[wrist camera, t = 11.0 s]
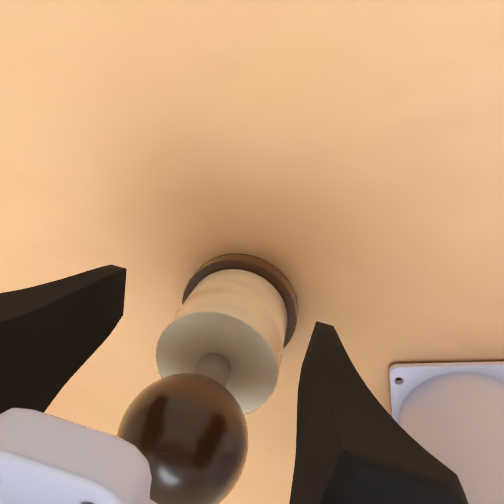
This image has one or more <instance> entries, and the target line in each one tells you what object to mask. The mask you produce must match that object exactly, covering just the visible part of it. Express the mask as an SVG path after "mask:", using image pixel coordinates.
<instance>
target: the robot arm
mask: <svg viewBox="0 0 504 504" xmlns="http://www.w3.org/2000/svg"><path fill="white" fill-rule="evenodd" d="M125 282H126V269H125V268H121V267H118V266H114V265H108V266H103V267H100V268H96V269H93V270H90V271H87V272H83V273H80V274H77V275H74V276H70V277H67V278H64V279H61V280H57V281H53V282H49V283H46V284H42V285H38V286H35V287H30V288H26V289H21V290H16V291H11V292H5V293H0V504H157V503H156V502H154V501H152V500H150V487H151V480H152V476H151V472H150V467H149V463H148V461H147V459H146V458H145V457H144V455H143V454H142V453H141V452H140V451H139V450H138V449H137V447H136V446H135V445H133V444H131V443H129V442H127V441H125V440H123V439H122V438H120V437H118V436H115V435H112V434H108V433H105V432H102V431H99V430H96V429H93V428H90V427H86V426H83V425H80V424H77V423H74V422H71V421H68V420H64V419H61V418H58V417H55V416H52V415H49V414H46V413H44V412H45V410H46V409H47V407H48V406H49V405H50V403H51V402H52V401H53V399H54V398H55V397H56V395H57V394H58V393H59V391H60V390H61V389H62V387H63V386H64V385H65V384H66V383H67V381H68V380H69V379H70V378H71V377H72V376H73V375H74V373H75V372H76V371H77V370H78V369H79V368H80V367H81V366H82V365H83V364H84V363H85V362H86V360H87V359H88V358H89V357H90V356H91V355H92V354H93V353H94V352H95V351H96V350H97V348H98V347H99V346H100V345H101V344H102V343H103V342H104V341H105V340H106V338H107V337H108V336H109V335H110V333H111V332H112V331H113V329H114V328H115V326H116V325H117V323H118V322H119V320H120V319H121V317H122V316H123V309H124V295H125ZM389 378H390V394H391V410H392V417H391V416H390V415H389V413H388V412H387V411H386V410H385V409H384V408H383V407H382V405H381V404H380V403H379V402H378V400H377V399H376V398H375V397H374V395H373V394H372V393H371V391H370V390H369V389H368V387H367V386H366V385H365V383H364V382H363V380H362V379H361V377H360V375H359V374H358V372H357V371H356V369H355V367H354V365H353V364H352V362H351V360H350V358H349V357H348V355H347V353H346V351H345V349H344V347H343V345H342V343H341V341H340V339H339V336H338V334H337V332H336V330H335V328H334V326H331V325H328V324H324V323H320V322H317V321H316V324H315V327H314V330H313V333H312V336H311V339H310V342H309V346H308V349H307V352H306V355H305V358H304V361H303V364H302V368H301V374H300V380H299V387H298V403H297V437H296V457H295V467H294V474H293V482H292V489H291V497H290V504H504V361H496V362H454V363H412V364H394V365H392V366H391V367H390V369H389ZM396 378H402V379H401V380H395V379H396Z"/></svg>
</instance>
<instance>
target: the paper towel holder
mask: <svg viewBox="0 0 504 504" xmlns="http://www.w3.org/2000/svg"><path fill="white" fill-rule="evenodd" d="M297 311H298V308H297V300H296V296H295V293H294V291H293V288H292V287H291V285H290V283H289V282H288V280H287V279H286V278H285V276H284V275H283V274H282V273H281V272H280V271H279V270H278V269H276V268H275V267H274V266H272V265H271V264H269V263H268V262H266V261H264V260H262V259H259V258H256V257H253V256H249V255H242V254H230V255H224V256H220V257H217V258H215V259H213V260H210V261H209V262H207V263H206V264H204V265H203V266H202V267H201V268H200V269H199V270H198V271H197V272H196V273H195V274H194V276H193V277H192V278H191V280H190V281H189V283H188V284H187V286H186V289H185V291H184V295H183V301H182V306H181V308H180V309H179V310H178V312H177V313H176V314H175V316H174V317H173V319H172V320H171V321H170V323H169V324H168V325H167V327H166V328H165V329H164V331H163V333H162V334H161V336H160V338H159V341H158V344H157V348H156V362H157V367H158V371H159V373H160V376H161V378H162V379H159V380H157V381H156V382H154V383H152V384H151V385H149V386H148V387H146V388H145V389H144V390H143V391H142V392H141V393H140V394H138V396H137V397H136V398H135V399H134V400H133V401H132V403H131V404H130V405H129V407H128V409H127V410H126V412H125V414H124V416H123V418H122V420H121V423H120V426H119V428H118V433H117V436H118V437H120V438H122V439H123V440H125V441H127V442H129V443H131V444H133V445H135V446H136V447H137V449H138V450H139V451H140V452H141V453H142V454H143V455H144V457H145V458H146V459H147V461H148V463H149V467H150V472H151V476H152V480H151V487H150V500H152V501H154V502H156V503H157V504H219V503H220V502H221V501H222V500H223V499H224V498H225V497H226V496H227V495H228V494H229V493H230V492H231V490H232V489H233V487H234V486H235V484H236V483H237V481H238V479H239V477H240V475H241V473H242V470H243V468H244V465H245V461H246V457H247V450H248V431H247V425H246V420H245V417H244V414H247V413H250V412H252V411H254V410H256V409H257V408H259V407H261V406H262V405H263V404H264V403H265V402H266V401H267V400H268V399H269V398H270V396H271V395H272V393H273V391H274V389H275V386H276V383H277V378H278V373H279V367H280V362H281V356H282V351H283V348H284V347H285V346H286V345H287V344H288V342H289V341H290V339H291V338H292V336H293V333H294V330H295V326H296V321H297Z"/></svg>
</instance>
